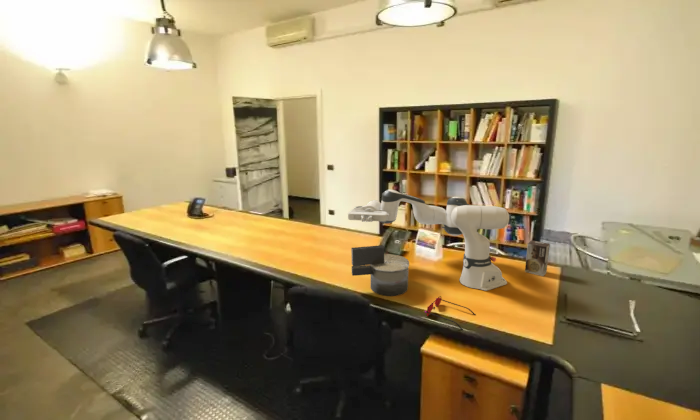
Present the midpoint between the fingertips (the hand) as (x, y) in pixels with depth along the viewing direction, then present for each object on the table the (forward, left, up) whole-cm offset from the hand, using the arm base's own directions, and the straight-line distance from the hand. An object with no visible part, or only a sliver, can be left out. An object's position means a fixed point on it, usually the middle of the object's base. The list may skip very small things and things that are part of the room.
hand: (365, 220), depth 170 cm
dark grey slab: (-3, +13, -19) cm, 23 cm away
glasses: (-22, +45, -32) cm, 59 cm away
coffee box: (-87, +22, -31) cm, 95 cm away
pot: (-3, +13, -31) cm, 34 cm away
